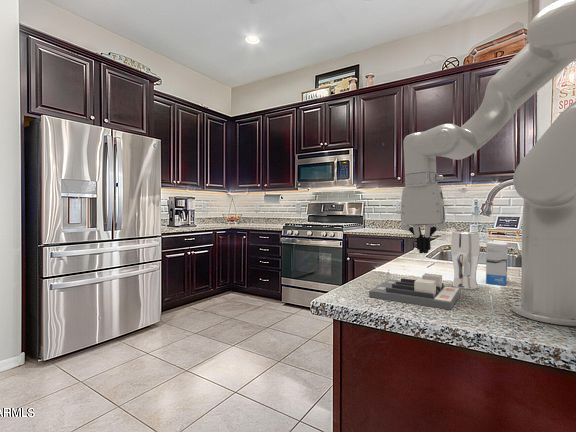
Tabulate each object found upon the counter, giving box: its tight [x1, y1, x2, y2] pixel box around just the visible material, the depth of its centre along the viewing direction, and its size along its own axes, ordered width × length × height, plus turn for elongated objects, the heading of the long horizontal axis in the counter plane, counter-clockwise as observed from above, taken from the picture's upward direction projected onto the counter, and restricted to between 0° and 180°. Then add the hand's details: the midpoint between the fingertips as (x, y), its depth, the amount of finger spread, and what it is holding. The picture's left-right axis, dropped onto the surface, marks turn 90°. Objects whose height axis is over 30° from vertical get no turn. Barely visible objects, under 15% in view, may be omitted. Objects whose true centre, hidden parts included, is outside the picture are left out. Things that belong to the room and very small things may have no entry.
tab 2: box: [421, 272, 443, 289], centre depth 81 cm, size 4×4×3 cm
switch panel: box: [368, 277, 462, 311], centre depth 80 cm, size 18×16×2 cm
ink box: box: [485, 240, 509, 286], centre depth 94 cm, size 8×5×12 cm, turn 143°
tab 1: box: [414, 278, 436, 295], centre depth 75 cm, size 4×4×3 cm
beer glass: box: [450, 231, 481, 290], centre depth 88 cm, size 7×7×15 cm
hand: (424, 252), depth 82 cm, fingers closed
